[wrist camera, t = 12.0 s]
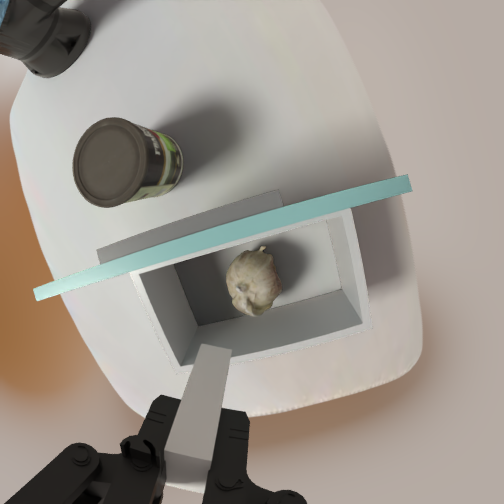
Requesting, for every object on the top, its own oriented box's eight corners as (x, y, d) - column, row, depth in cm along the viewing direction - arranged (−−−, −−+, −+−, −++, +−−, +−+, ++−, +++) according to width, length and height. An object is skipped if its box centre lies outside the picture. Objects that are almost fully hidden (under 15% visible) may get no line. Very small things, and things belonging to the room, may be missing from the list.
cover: (128, 272, 34) (123, 256, 34) (351, 207, 31) (345, 190, 31) (36, 301, 18) (29, 276, 18) (412, 191, 15) (402, 157, 15)
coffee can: (151, 119, 40) (106, 100, 27) (197, 160, 42) (165, 153, 28) (112, 169, 43) (59, 171, 29) (154, 211, 44) (110, 226, 30)
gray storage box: (159, 245, 45) (127, 267, 34) (327, 195, 42) (349, 202, 31) (194, 333, 49) (176, 374, 38) (350, 293, 46) (372, 328, 34)
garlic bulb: (261, 292, 49) (256, 339, 41) (217, 267, 47) (204, 312, 39) (297, 255, 44) (300, 302, 36) (251, 225, 42) (243, 269, 34)
